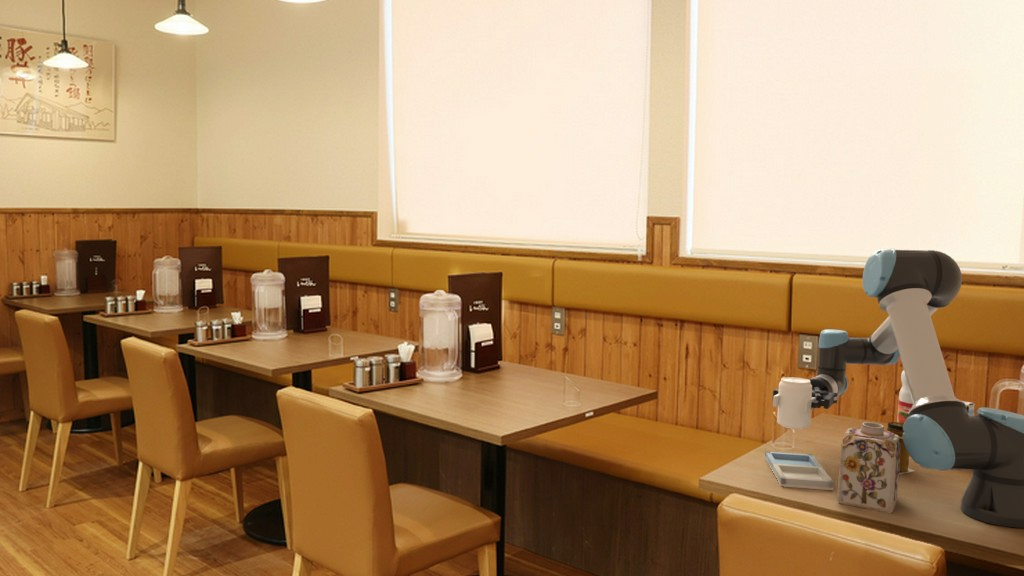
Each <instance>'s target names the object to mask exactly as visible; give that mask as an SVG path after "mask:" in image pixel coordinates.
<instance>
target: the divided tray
mask: <svg viewBox="0 0 1024 576" xmlns="http://www.w3.org/2000/svg"><path fill="white" fill-rule="evenodd" d="M764 454H765V455H764V459H765V458H766V460H767V462H768V463H769V465H770V467H771V469H772V470H771V469H770V470H771V472H772V471H773V472H772V474H773V473H774V474H775V476H776V477H775V476H774V477H775V479H776V478H777V479H776V481H777V480H778V481H777V482H778V484H779V486H780V487H782V486H784V487H783V488H785V487H786V488H796V489H797V488H799V489H810V490H826V491H834V480H833V479H832V478H831V477H830V476H829V474H828V472H826V471H825V468H824V467H822V465H821V464H820V462H819V461H818V460H817V459H816V458H815V456H814V455H813V454H808V453H807V454H806V453H793V452H778V451H765V453H764ZM766 460H765V461H766ZM767 462H766V463H767ZM768 463H767V464H768ZM769 465H768V466H769ZM770 467H769V468H770ZM774 474H773V475H774Z"/></svg>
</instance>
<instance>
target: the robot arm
mask: <svg viewBox="0 0 1024 576" xmlns="http://www.w3.org/2000/svg"><path fill="white" fill-rule="evenodd" d="M962 275H963V274H962V270H961V269H960V266H959V264H958V263H957V261H955V260H954V258H952V257H951V256H950V255H948V254H947V253H945V252H941V251H939V250H933V249H932V250H931V249H930V250H929V249H926V250H925V249H923V250H921V249H920V250H919V249H918V250H917V249H916V250H915V249H895V248H890V249H888V248H887V249H877V250H875V251H874V252H872V253H871V254H870V255H869V257H868V258H867V260H866V261H865V265H864V269H863V273H862V287H863V288H862V289H863V291H864V293H865V295H867V296H868V297H871V298H872V299H873V298H876V299H877V303H878V307H879V309H880V310H881V311H883V312H885V313H887V314H888V316H887V318H886V319H885V320H884V321H883V322H882V323H881V324H879V327H877V329H876V330H875V331H874V332H873V333H872V334H870V336H869V337H850V336H849V333H848V331H846V330H843V329H833V328H832V329H829V328H827V329H823V330H821V332H820V335H819V338H818V339H819V340H818V351H817V354H818V355H817V367H816V376H813V377H811V378H809V379H808V380H810V383H811V385H812V398H810V399H808V400H806V401H804V412H808V411H810V410H811V411H812V410H814V409H821V407H823V409H825V410H828V409H830V408H831V406H833V405H834V404H837V403H838V398H839V397H841V396H843V395H844V393H846V391H847V390H848V388H849V379H848V377H847V375H846V372H847V371H846V370H847V365H873V366H874V365H875V366H877V365H878V366H885V365H894V364H896V363H898V361H899V359H900V361H901V365H902V368H903V370H904V372H905V376H906V379H907V383H908V387H909V390H910V394H911V398H912V401H913V407H912V408H911V409H910V411H909V412H908V414H909V417H908V418H907V419H906V421H905V423H904V425H903V430H904V433H903V441H904V445H905V447H906V450H907V452H908V454H909V455H910V456H909V458H911V460H912V461H913V462H914V463H916V464H917V465H919V466H920V467H921V468H923V469H926V470H927V469H929V470H938V471H949V470H951V471H952V470H956V471H958V470H960V471H961V470H962V471H963V470H965V471H966V470H967V471H972V475H971V478H970V481H969V482H968V485H966V489H965V491H964V493H963V495H962V497H961V499H960V500H961V501H960V510H961V512H962V513H963V514H965V515H966V516H969V517H971V518H972V519H975V520H978V521H981V522H984V523H987V524H992V525H996V526H997V525H998V526H1000V527H1007V528H1008V527H1009V528H1020V529H1024V414H1020V413H1017V412H1016V413H1015V412H1012V411H1007V410H1003V409H998V408H991V407H979V408H978V409H977V411H976V415H974V416H969V415H968V412H967V408H966V405H965V403H964V402H963V401H964V400H961V399H959V398H956V396H955V392H954V389H953V386H952V383H951V379H950V376H949V372H948V370H947V367H946V363H945V362H946V361H945V360H944V356H943V352H942V350H941V346H940V343H939V339H938V337H937V332H936V329H935V326H934V323H933V320H932V316H933V315H934V313H935V312H936V311H937V310H938V309H943V308H946V307H948V306H949V304H951V303H952V302H953V301H954V300H955V298H956V297H957V296H958V294H959V293H960V290H961V287H962V283H963V276H962ZM899 357H900V358H899ZM778 392H779V388H776V389H773V390H772V407H773V408H778V406H779V394H778Z"/></svg>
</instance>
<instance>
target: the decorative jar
mask: <svg viewBox="0 0 1024 576" xmlns="http://www.w3.org/2000/svg"><path fill="white" fill-rule="evenodd" d="M884 429H885V426H884V425H883V424H881V423H877V422H872V421H871V422H869V421H864V422H862V423H861V427H850V428H847V429H845V431H844V432H845V433H844V435H843V438H842V442H841V446H840V457H839V468H838V469H839V471H838V482H837V483H838V484H837V494H836V495H837V497H836V499H837V500H836V501H837V503H838V504H840V505H844V506H849V507H850V506H851V507H857V508H861V509H865V510H870V511H871V510H872V511H876V512H881V513H887V514H893V511H894V509H895V507H896V504H897V501H898V495H899V481H900V475H899V469H900V448H901V440H900V438H899V436H898V435H896V434H894V433H892V432H890V431H887V429H886V430H884Z"/></svg>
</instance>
